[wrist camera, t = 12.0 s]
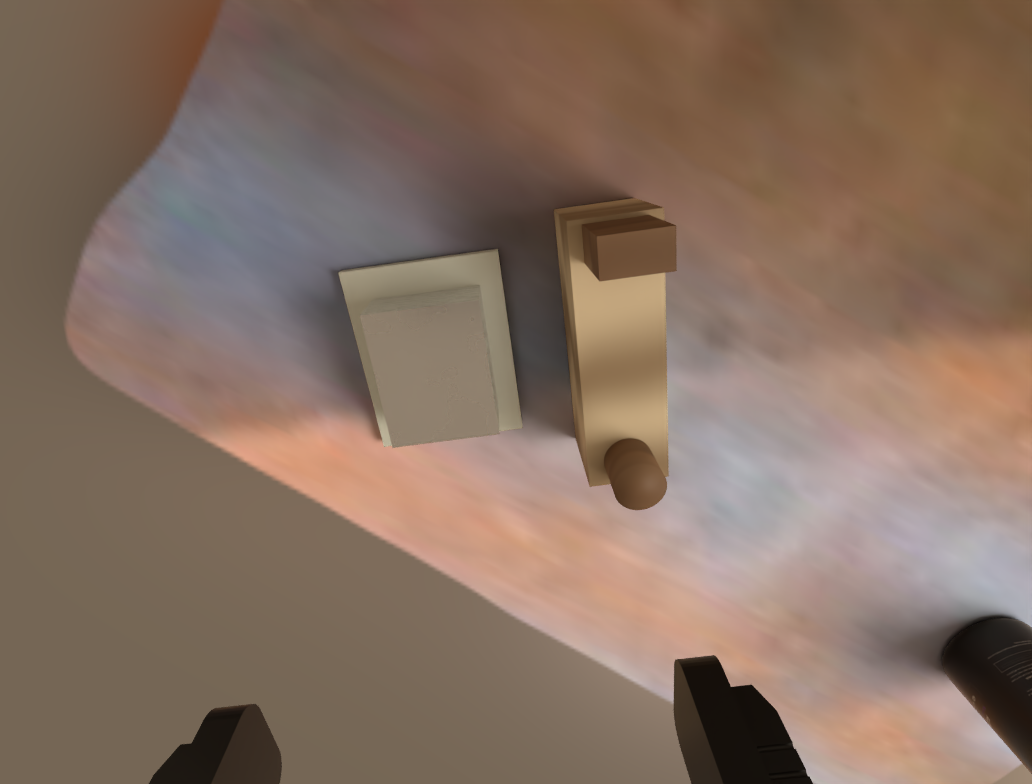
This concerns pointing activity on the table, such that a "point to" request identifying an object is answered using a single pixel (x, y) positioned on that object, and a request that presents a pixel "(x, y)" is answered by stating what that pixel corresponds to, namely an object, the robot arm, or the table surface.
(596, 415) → the body
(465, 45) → the table surface
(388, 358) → the lever cap
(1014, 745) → the supplement bottle
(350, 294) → the mat
